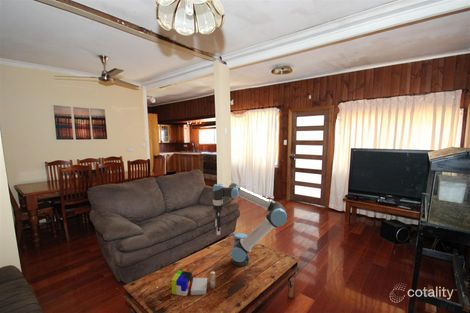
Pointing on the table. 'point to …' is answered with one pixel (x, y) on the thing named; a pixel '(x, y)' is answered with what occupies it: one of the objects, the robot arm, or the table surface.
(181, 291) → the puzzle toy
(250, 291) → the table surface
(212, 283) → the dowel
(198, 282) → the slab
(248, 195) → the robot arm
